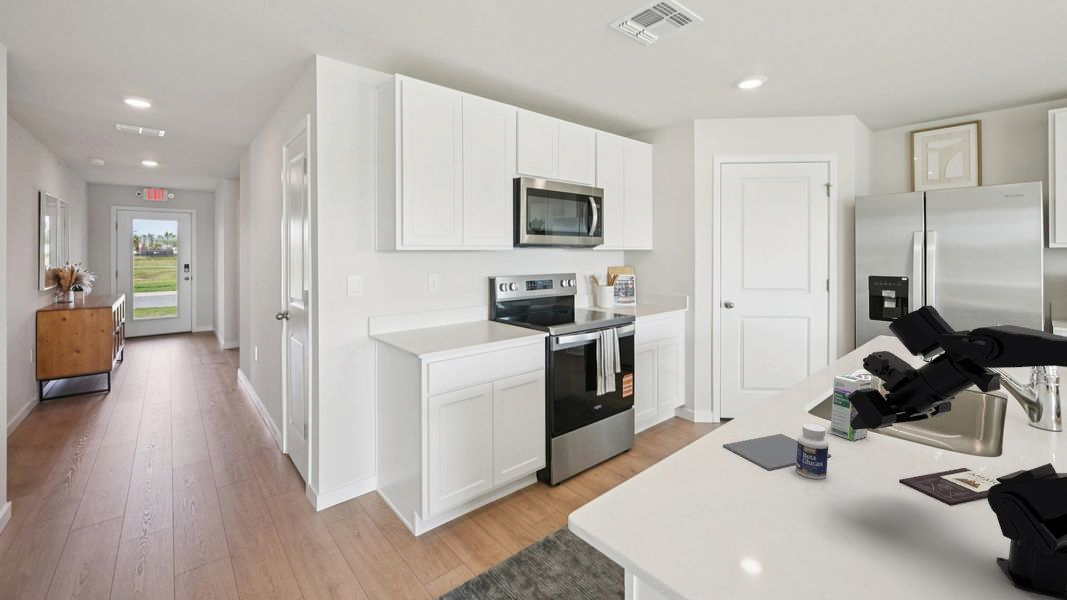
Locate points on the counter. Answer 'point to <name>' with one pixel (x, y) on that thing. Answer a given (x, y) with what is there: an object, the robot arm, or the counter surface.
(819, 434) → the pill bottle
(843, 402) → the syrup box
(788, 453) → the mat
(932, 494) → the chocolate bar
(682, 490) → the counter surface
